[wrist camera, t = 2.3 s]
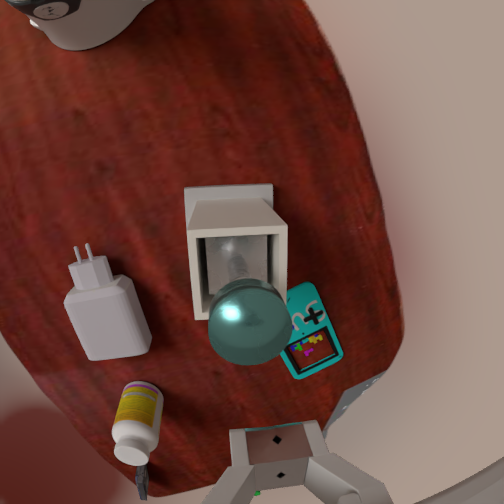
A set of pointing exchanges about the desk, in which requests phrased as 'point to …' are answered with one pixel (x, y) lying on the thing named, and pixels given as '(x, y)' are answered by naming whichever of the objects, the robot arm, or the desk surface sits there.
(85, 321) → the charger
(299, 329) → the handheld gaming console
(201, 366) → the desk surface
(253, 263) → the plunger
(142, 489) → the mini dv tape
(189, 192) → the press housing
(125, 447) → the supplement bottle
